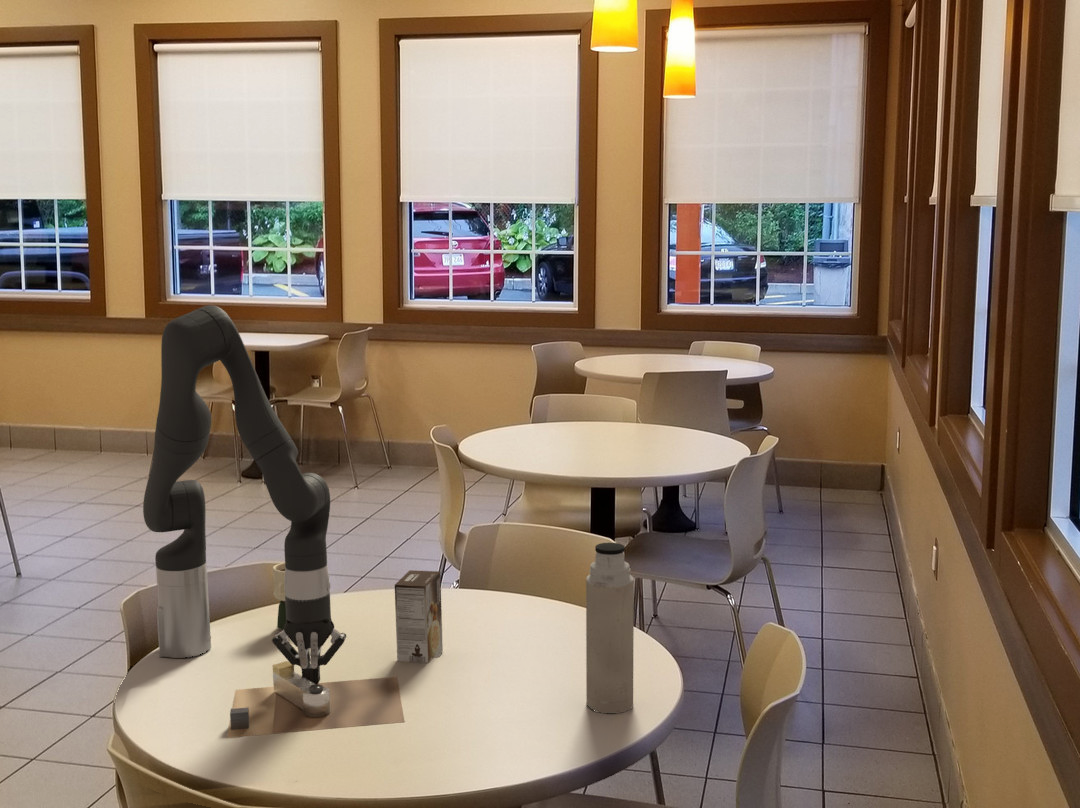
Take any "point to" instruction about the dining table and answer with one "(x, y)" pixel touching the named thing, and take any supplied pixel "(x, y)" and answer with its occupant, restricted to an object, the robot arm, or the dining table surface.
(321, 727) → the door board
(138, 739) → the dining table surface
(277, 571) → the character mug
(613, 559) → the thermos bottle
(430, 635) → the coffee box
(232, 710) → the block
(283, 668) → the latch bar
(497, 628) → the dining table surface
